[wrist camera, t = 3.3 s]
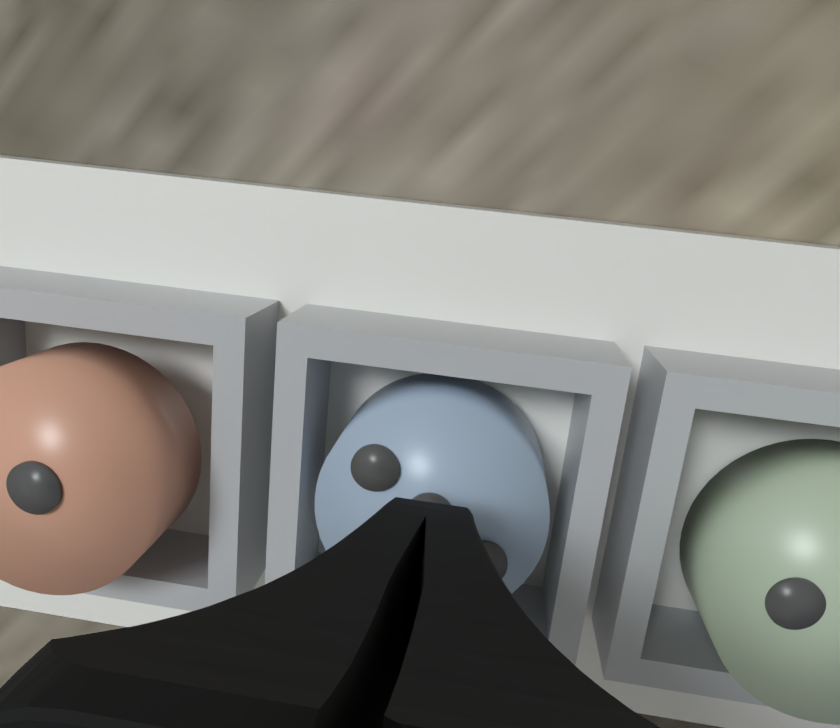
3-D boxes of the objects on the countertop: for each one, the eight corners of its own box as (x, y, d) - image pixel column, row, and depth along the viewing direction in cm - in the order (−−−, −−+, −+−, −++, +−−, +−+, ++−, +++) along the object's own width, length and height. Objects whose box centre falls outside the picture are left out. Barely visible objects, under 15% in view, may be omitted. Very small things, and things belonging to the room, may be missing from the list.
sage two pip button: (888, 665, 13) (956, 749, 11) (659, 628, 14) (686, 705, 12) (958, 457, 12) (1047, 510, 10) (705, 423, 13) (744, 468, 11)
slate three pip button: (527, 577, 15) (531, 638, 13) (332, 547, 16) (306, 601, 13) (558, 387, 14) (568, 421, 12) (346, 359, 14) (320, 388, 12)
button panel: (883, 711, 17) (977, 841, 14) (9, 568, 19) (-97, 651, 16) (1033, 267, 14) (1199, 294, 11) (-17, 152, 16) (-155, 145, 13)
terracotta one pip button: (199, 555, 15) (151, 615, 13) (5, 525, 15) (-72, 578, 13) (203, 356, 13) (150, 387, 11) (-7, 329, 14) (-94, 354, 12)
